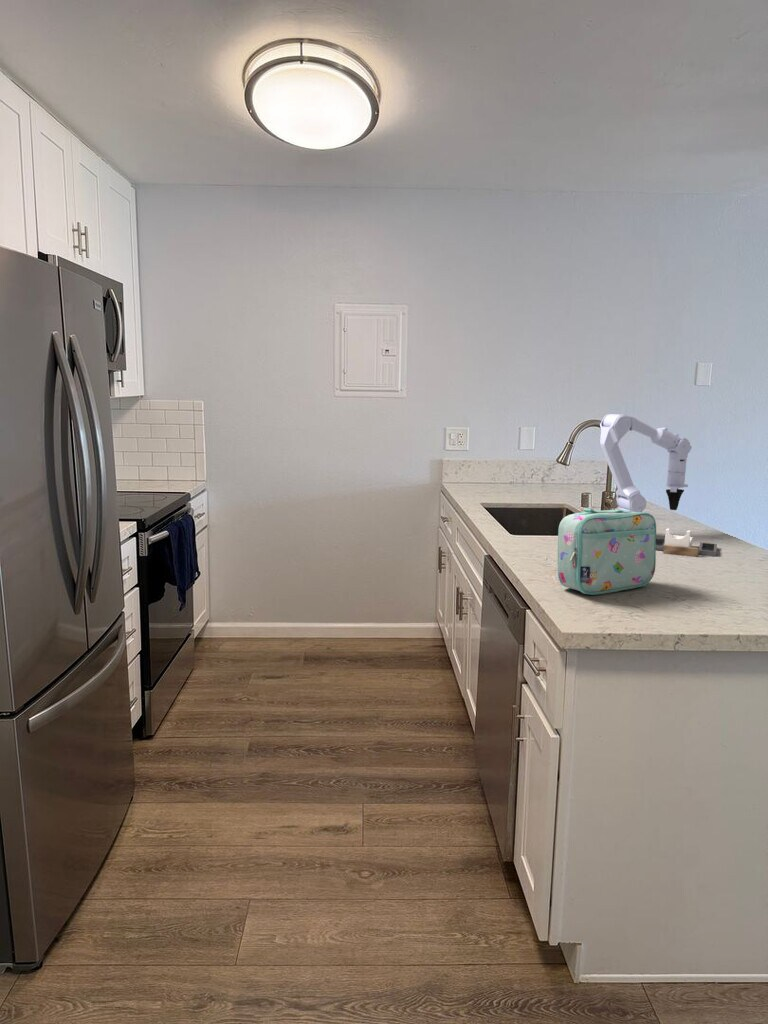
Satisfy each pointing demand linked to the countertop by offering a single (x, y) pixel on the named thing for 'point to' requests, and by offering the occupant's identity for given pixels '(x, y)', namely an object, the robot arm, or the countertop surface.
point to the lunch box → (606, 550)
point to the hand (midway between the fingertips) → (673, 509)
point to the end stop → (680, 550)
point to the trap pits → (704, 548)
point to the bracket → (678, 539)
